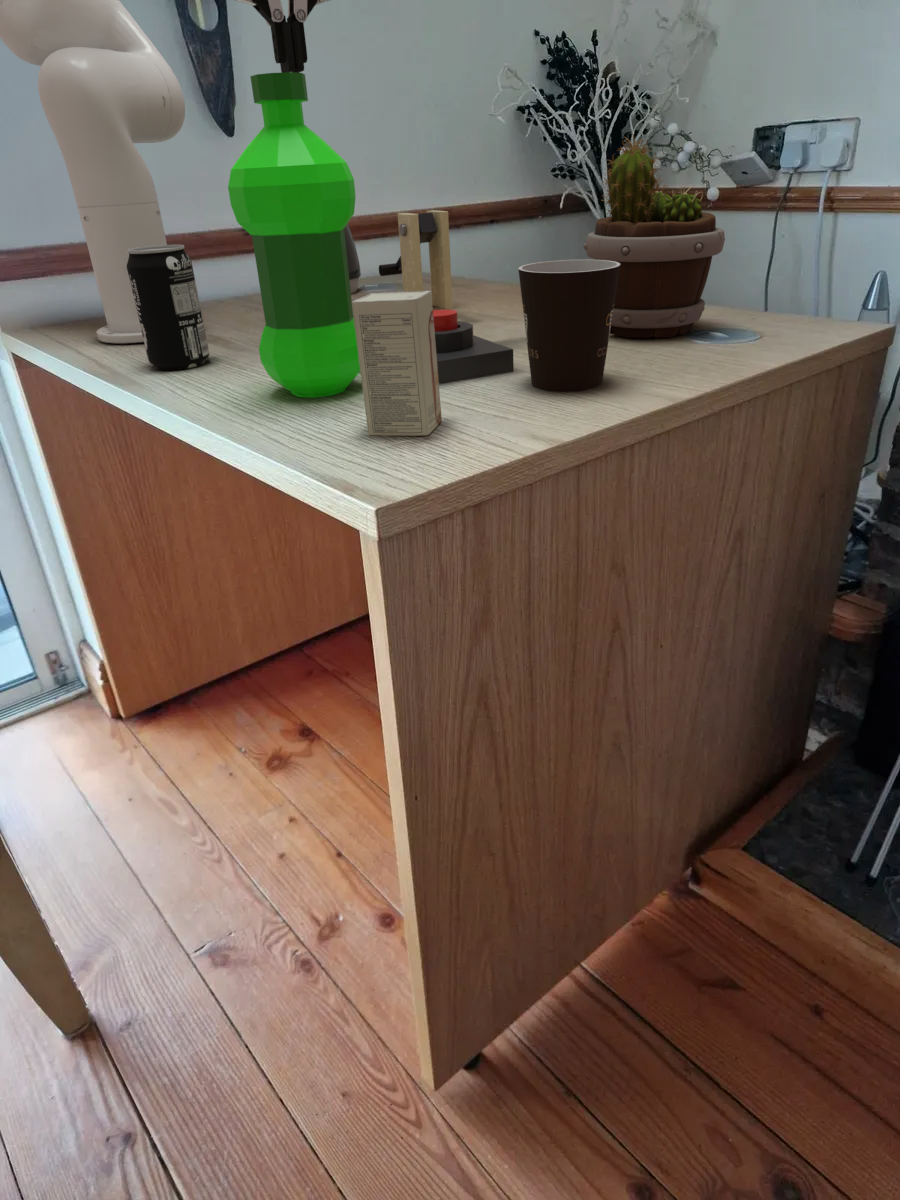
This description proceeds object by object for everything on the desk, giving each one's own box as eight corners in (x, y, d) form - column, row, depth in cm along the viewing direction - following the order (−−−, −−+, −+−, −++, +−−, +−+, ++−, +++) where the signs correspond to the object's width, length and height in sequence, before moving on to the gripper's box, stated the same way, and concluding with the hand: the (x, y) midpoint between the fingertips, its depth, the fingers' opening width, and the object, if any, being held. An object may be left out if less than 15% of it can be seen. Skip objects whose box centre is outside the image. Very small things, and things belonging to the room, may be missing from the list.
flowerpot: (666, 313, 100) (681, 128, 90) (742, 334, 87) (769, 121, 77) (561, 326, 96) (564, 135, 86) (624, 350, 83) (636, 128, 73)
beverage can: (147, 362, 90) (120, 248, 84) (206, 355, 92) (184, 242, 86) (153, 374, 85) (124, 252, 79) (215, 365, 87) (192, 246, 81)
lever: (381, 281, 110) (376, 264, 109) (417, 277, 111) (413, 260, 111) (409, 233, 97) (403, 214, 97) (449, 230, 99) (444, 211, 99)
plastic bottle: (385, 396, 72) (354, 66, 60) (268, 411, 70) (211, 70, 57) (363, 372, 80) (333, 79, 68) (258, 385, 78) (207, 83, 66)
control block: (375, 364, 84) (371, 324, 82) (460, 350, 87) (458, 312, 85) (419, 388, 74) (416, 343, 72) (513, 372, 77) (513, 329, 76)
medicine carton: (443, 421, 64) (435, 289, 59) (428, 438, 61) (419, 299, 56) (382, 419, 66) (370, 290, 61) (364, 436, 62) (349, 300, 57)
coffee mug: (591, 400, 67) (596, 273, 62) (502, 390, 72) (500, 271, 67) (640, 369, 76) (647, 255, 71) (558, 362, 80) (559, 255, 75)
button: (416, 330, 80) (414, 312, 79) (448, 326, 81) (447, 308, 80) (430, 336, 77) (429, 317, 76) (464, 331, 78) (463, 312, 77)
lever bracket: (387, 318, 107) (378, 213, 101) (441, 311, 110) (435, 208, 104) (416, 329, 99) (408, 216, 93) (473, 321, 102) (469, 211, 96)
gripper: (329, -149, 78) (350, 74, 87) (173, -161, 73) (212, 77, 82) (353, -176, 72) (373, 66, 81) (185, -192, 67) (227, 69, 76)
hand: (292, 71), depth 81 cm, fingers closed
